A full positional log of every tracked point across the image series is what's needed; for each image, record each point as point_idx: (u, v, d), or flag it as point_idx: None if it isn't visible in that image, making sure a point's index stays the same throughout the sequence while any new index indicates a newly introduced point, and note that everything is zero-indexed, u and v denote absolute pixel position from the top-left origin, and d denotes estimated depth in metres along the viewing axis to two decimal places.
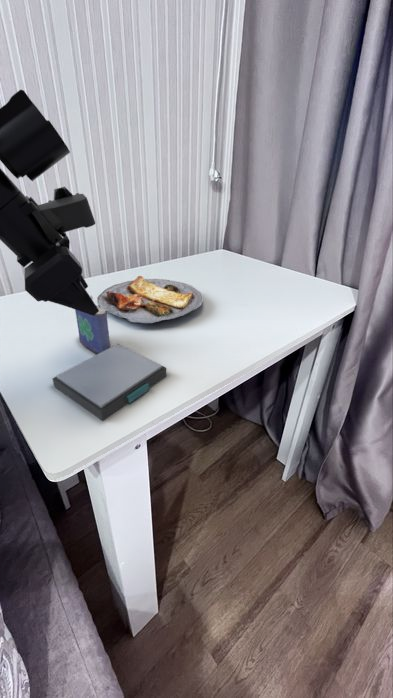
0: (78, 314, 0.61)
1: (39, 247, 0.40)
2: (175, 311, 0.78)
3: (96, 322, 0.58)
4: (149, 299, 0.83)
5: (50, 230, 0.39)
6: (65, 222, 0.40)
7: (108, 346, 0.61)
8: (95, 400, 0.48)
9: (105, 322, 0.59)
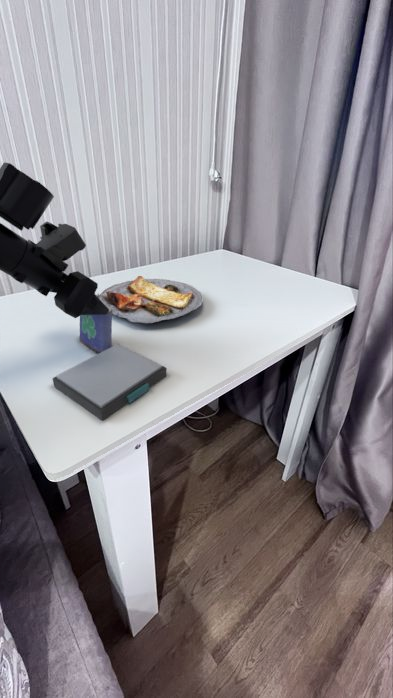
0: None
1: (54, 277, 0.51)
2: (175, 311, 0.78)
3: (101, 319, 0.59)
4: (149, 299, 0.83)
5: (59, 262, 0.50)
6: (66, 252, 0.51)
7: (109, 345, 0.61)
8: (95, 400, 0.48)
9: (110, 320, 0.59)
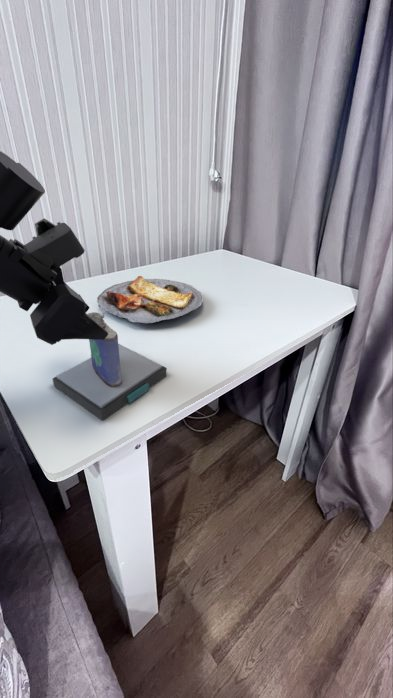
0: None
1: (37, 289, 0.40)
2: (175, 311, 0.78)
3: (103, 347, 0.47)
4: (149, 299, 0.83)
5: (44, 270, 0.39)
6: (56, 258, 0.40)
7: (118, 376, 0.50)
8: (95, 400, 0.48)
9: (114, 348, 0.48)
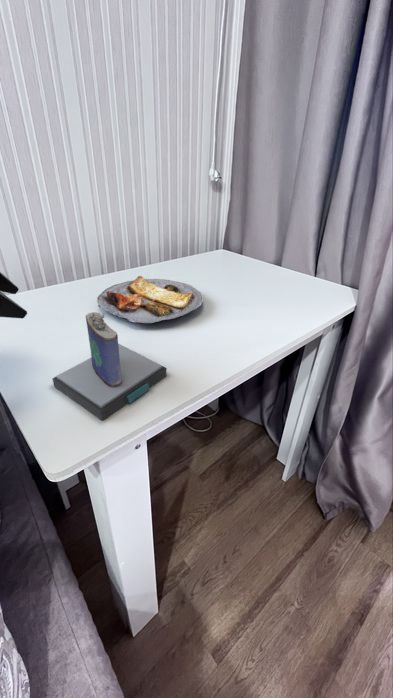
0: (89, 333, 0.51)
1: None
2: (175, 311, 0.78)
3: (103, 347, 0.47)
4: (149, 299, 0.83)
5: None
6: None
7: (118, 376, 0.50)
8: (95, 400, 0.48)
9: (114, 348, 0.48)
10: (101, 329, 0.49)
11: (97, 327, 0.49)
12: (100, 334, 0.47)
